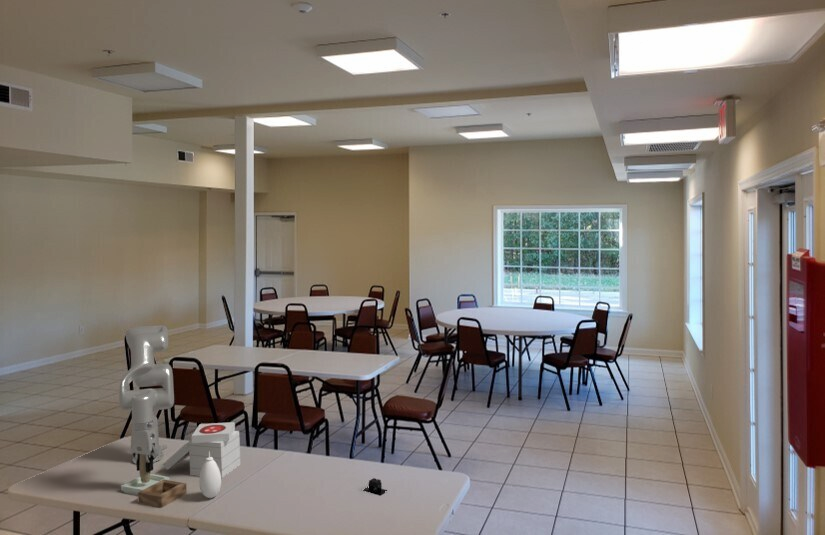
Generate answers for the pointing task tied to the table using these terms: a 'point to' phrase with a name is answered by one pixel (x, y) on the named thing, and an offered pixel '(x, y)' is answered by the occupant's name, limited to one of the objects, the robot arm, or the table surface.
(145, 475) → the handle
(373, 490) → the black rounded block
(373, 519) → the table surface
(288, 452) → the table surface
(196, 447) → the pizza box stack
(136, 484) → the tray
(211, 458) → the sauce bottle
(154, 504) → the small wooden box
